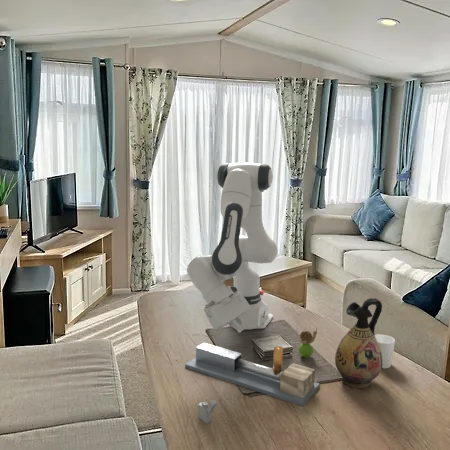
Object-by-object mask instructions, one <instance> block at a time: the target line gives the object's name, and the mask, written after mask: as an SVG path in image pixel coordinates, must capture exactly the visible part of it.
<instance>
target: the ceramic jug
mask: <svg viewBox="0 0 450 450" xmlns="http://www.w3.org/2000/svg"><path fill="white" fill-rule="evenodd" d="M372 305H374V306H375V309H374V312H373V313H372V312H371V310H370V309H369V307H370V306H372ZM345 311H346V314H347V315H348V316H350V317H351V316H352V317H353V318H356V319H357V321H356V323H355V325H354V326H352V327H351V328H350V330H348V332H346V334H345V335H344V336H343V338H342V339H341V341H340V343H339V344H338V346H337V349H336V352H335V355H334V360H335V361H334V362H335V367H336V369H337V372H338V373H339V374H340V377H342V382H343V383H345V384H346V386H349V387H352V388H358V389H359V388H366V387H368V386H369V385H370V384H371V383H372V381H373V380H375V379H376V378H377V377H379V375H380V374H381V372H382V369H383V368H382V364H383V359H382V352H381V349H380V346H379V344H378V342H377V340H376V338H375V336H374V335H375V329H376V325H377V323H378V320H379V318H380V316H381V313H382V311H383V305H382V302H381V300H379V299H377V298H375V297H373V298H372V297H369V298H367V299H365V300H364V301H363V304H362V306H361V305H360V304H358V303H357V302H356V301H354V302H352V303H350V304H349V305H348V306H347V308H346V310H345ZM369 318H370V321H369V320H368V319H369Z"/></svg>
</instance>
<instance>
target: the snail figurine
mask: <svg viewBox="0 0 450 450" xmlns="http://www.w3.org/2000/svg"><path fill="white" fill-rule="evenodd" d="M317 330H318V327H315V330H314V331H313V332H311V331H308V330H303V331H301V332H300V334H299V338H300V339H299V342H300V343H301V344H300V345H299V347H298V353H299V355H300V356H301V357H302V358H306V359H308V358H311V356H313V354H314V347H313V346H312V345H311V344H312V343H313V342H314V341H315V340H316V337H317V333H318V331H317Z"/></svg>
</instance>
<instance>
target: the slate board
mask: <svg viewBox="0 0 450 450" xmlns="http://www.w3.org/2000/svg"><path fill="white" fill-rule="evenodd" d="M184 367H185V368H186V369H188V370H189V369H190V370H191V371H195V372H199V373H202V374H204V375H207V376H209V377H214V378H217V379H220V380H223V381H225V382H228V383H232V384H234V385H236V386H240V385H241V387H243V386H244V388H246V387H247V389H249V388H250V390H253V391H255V392H258V393H261V394H264V395H268V396H271V397H274V398H276V399H280V400H283V401H286V402H289V403H292V404H295V405H298V406H301V407H304V405H305V404H306V403H307V402H308V401H309V400H310V399H311V397H312V396H313V395H314V394H315V392H317V391H318V389H319V388H320V382H316V381H314V386H313V388H312V389H311V390H310V391H309V392H308V393H307V394H306V395H305V397H304V398H301V397H298V396H295V395H292V394H289V393H286V392H283V391H280V381H278V380H275V379H272V378H269V377H265V376H262V375H259V374H256V373H253V372H249V371H246V370H243V369H240V368H239V369H238V370H236V371H235V372H231V371H228V370H225V369H222V368H218V367H215V366H212V365H209V364H206V363H203V362H200V361H196V356H195V357H194V358H192V359H191V360H189V361H188V362H186V363H185V364H184Z"/></svg>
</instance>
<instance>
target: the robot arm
mask: <svg viewBox="0 0 450 450" xmlns="http://www.w3.org/2000/svg"><path fill="white" fill-rule="evenodd" d="M216 173H217V174H216V177H217V178H216V179H217V184H218V186H220V187H221V188H222V192H221V196H220V204H219V205H220V214H221V216H222V218H223V223H222V230H221V236H220V240H219V243H218V245H217V246H216V247H215V249H214V250H213V253H212V254H210V255H197V256H196V257H194V258H193V259H192V260H191V261H190V262H189V263H188V265H187V267H186V274H187V276H188V278H189V280H190V281H191V283H192V284H193V287H195V288H196V290H197V291H199V292H200V293H201V296H202V298H203V299H204V301H205V302H206V304H205V305H204V309H203V310H204V311H203V312H204V313H205V316H206V318H207V320H208V322H209V323H210V325H211V327H212V328H213V330H215V331H220V330H221V329H223V328H225V327H226V326H228V325H229V326H230V327H231V328H233V329H234V330H236V331H237V333H238V334H241V332H243V331H245V330H253V329H254V330H255V329H266V327H267V326H268V324H269V323H270V322H271V321H272V319H273V318H274V315H273V314H272V313H270V312H269V306H268V304H267V303H266V302H265V301H263V299H262V296H264V293H265V292H264V290H260V281H261V280H260V278H261V277H260V274H259V273H258V272H257V271H256V270H255V269H254V268H252V267H251V266H250V264H249V263H251V264H263V265H264V264H272V263H273V262H274V261H275V260H276V259H277V255H278V253H279V252H278V246H277V243H276V242H275V240H273V239H272V238H271V237H270V236H269V235H268V233H267V231H266V229H265V227H264V223H263V215H262V214H263V194H262V193H263V192H264V191H266V190H268V189H269V188H270V187H271V186H272V182H273V178H274V177H273V176H274V175H273V171H272V168H271V166H270V165H269V164H266V163H263V162H262V163H257V162H256V163H255V162H248V161H245V162H225V163H222V164H220V166H219V167H218V169H217V172H216ZM241 229H243V231H244V232H245V233H246V235H242V234H241ZM232 278H233V285H232V286H230V285H226V284H225V283H224V282H225V281H227V280H230V279H232Z"/></svg>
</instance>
